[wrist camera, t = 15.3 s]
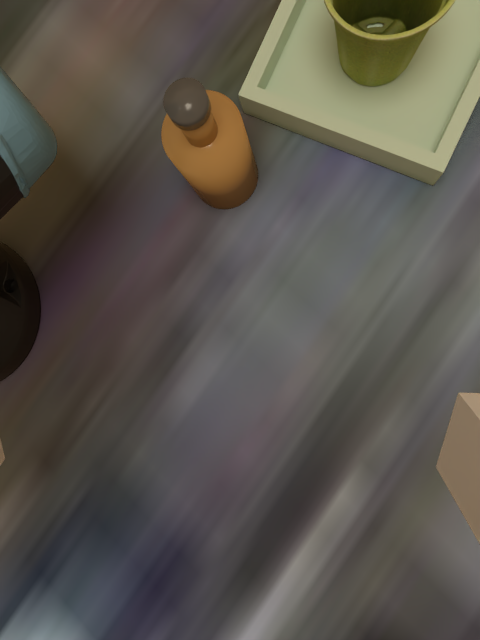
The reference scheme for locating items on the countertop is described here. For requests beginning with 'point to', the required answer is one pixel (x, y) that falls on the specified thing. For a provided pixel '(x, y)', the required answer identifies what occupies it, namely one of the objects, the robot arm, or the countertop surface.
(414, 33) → the plant pot
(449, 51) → the tray
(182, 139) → the reagent bottle
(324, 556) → the countertop surface
